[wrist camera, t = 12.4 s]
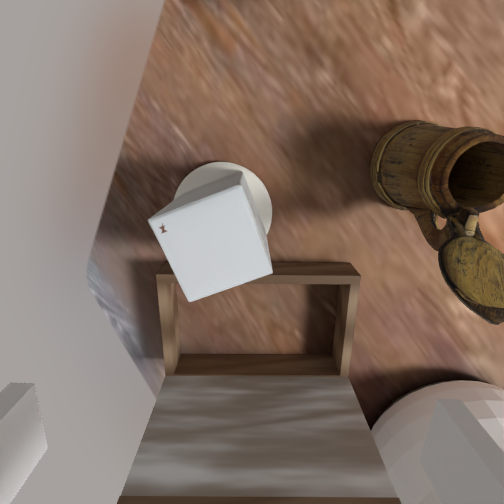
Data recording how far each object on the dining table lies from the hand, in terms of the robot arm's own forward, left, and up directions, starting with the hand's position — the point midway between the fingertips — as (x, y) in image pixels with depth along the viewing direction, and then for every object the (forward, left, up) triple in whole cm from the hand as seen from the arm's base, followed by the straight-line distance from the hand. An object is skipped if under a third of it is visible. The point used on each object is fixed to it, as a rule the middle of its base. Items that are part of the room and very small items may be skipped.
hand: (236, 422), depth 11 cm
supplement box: (-2, -2, -27) cm, 27 cm away
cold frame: (+11, +1, -27) cm, 30 cm away
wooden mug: (-5, +17, -28) cm, 33 cm away
